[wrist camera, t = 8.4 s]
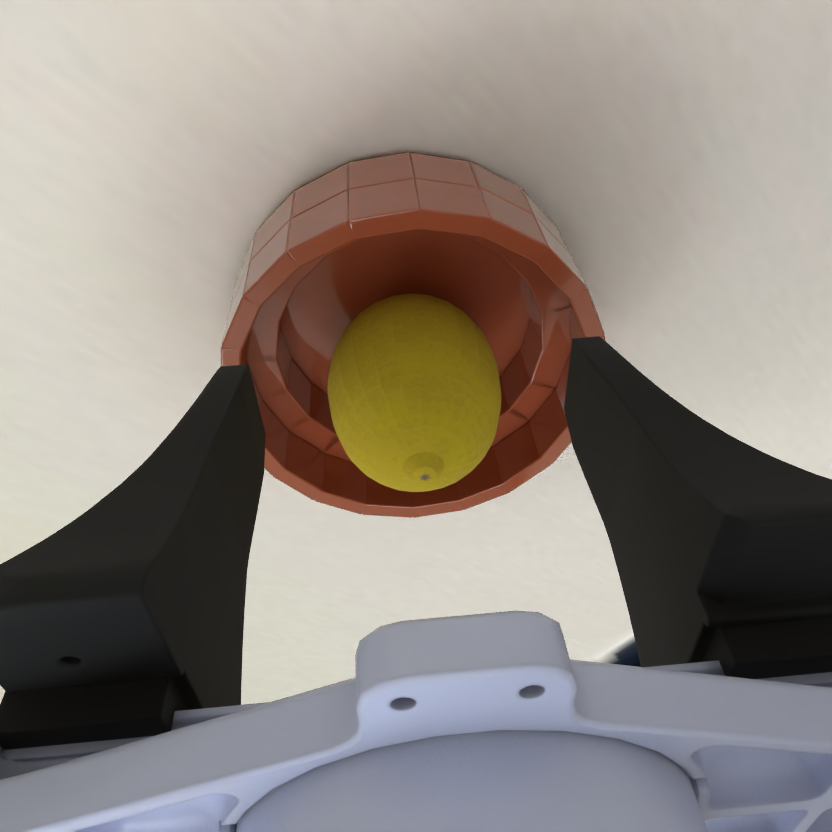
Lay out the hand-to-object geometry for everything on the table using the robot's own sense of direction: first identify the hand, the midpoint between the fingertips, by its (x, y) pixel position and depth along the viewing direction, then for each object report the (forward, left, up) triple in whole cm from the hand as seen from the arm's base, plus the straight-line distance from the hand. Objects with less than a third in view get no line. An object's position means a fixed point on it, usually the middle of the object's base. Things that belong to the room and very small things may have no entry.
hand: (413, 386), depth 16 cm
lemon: (-2, +4, -10) cm, 11 cm away
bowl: (-2, +4, -10) cm, 11 cm away
